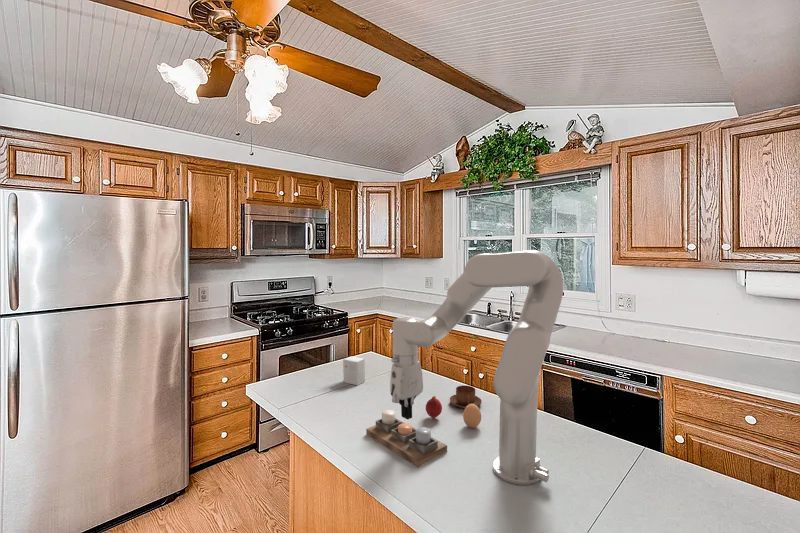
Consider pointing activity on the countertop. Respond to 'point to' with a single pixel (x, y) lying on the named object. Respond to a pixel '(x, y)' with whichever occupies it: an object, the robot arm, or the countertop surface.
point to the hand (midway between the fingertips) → (406, 417)
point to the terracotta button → (404, 429)
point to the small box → (354, 370)
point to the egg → (472, 416)
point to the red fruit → (433, 407)
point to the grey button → (423, 436)
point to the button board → (405, 443)
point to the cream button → (388, 417)
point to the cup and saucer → (465, 397)
